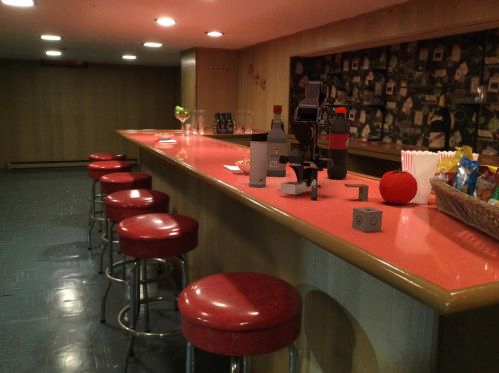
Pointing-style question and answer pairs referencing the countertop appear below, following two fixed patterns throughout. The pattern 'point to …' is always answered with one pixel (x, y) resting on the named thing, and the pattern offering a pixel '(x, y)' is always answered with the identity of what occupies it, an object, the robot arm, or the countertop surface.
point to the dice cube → (367, 219)
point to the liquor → (276, 146)
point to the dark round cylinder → (314, 192)
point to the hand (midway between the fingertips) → (304, 186)
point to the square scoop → (296, 186)
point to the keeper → (360, 191)
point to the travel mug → (258, 160)
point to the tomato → (398, 187)
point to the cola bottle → (338, 145)
